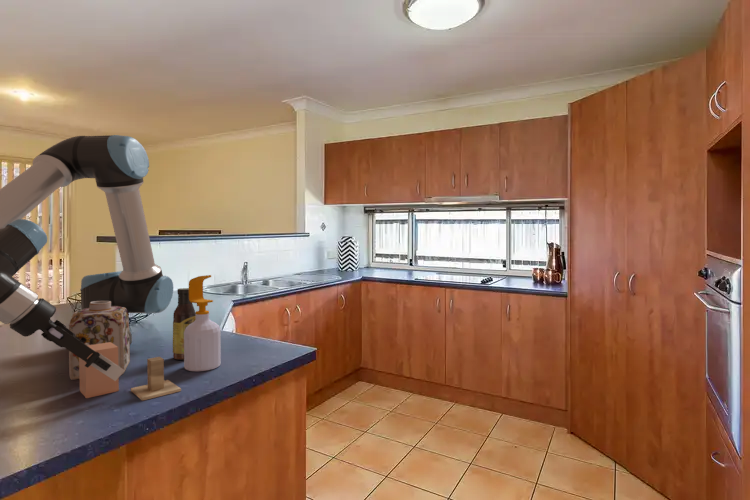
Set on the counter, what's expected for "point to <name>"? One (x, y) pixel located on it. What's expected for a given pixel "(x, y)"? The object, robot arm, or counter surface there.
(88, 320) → the decorative jar
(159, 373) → the post
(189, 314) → the sauce bottle
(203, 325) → the soap bottle
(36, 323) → the robot arm
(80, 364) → the peach block
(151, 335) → the counter surface
